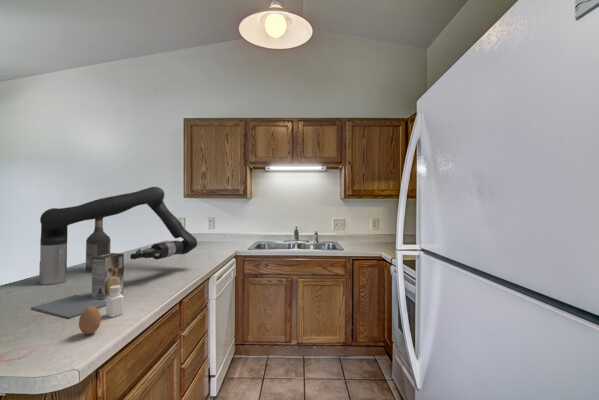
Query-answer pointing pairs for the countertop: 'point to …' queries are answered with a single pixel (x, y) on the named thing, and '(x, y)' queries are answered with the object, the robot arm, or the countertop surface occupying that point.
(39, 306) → the mat
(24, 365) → the countertop surface
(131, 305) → the countertop surface
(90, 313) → the egg
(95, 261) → the coffee box
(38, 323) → the countertop surface
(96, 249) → the liquor
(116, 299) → the salt shaker
